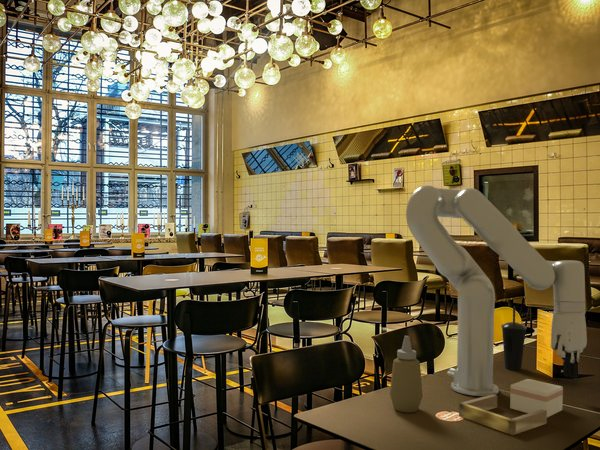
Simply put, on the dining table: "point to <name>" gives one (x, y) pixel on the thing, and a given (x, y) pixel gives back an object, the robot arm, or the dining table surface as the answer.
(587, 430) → the dining table surface
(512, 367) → the drinking cup
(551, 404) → the carton
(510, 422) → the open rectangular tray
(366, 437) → the dining table surface
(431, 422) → the dining table surface
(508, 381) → the dining table surface
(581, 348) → the robot arm
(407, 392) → the squeeze bottle
